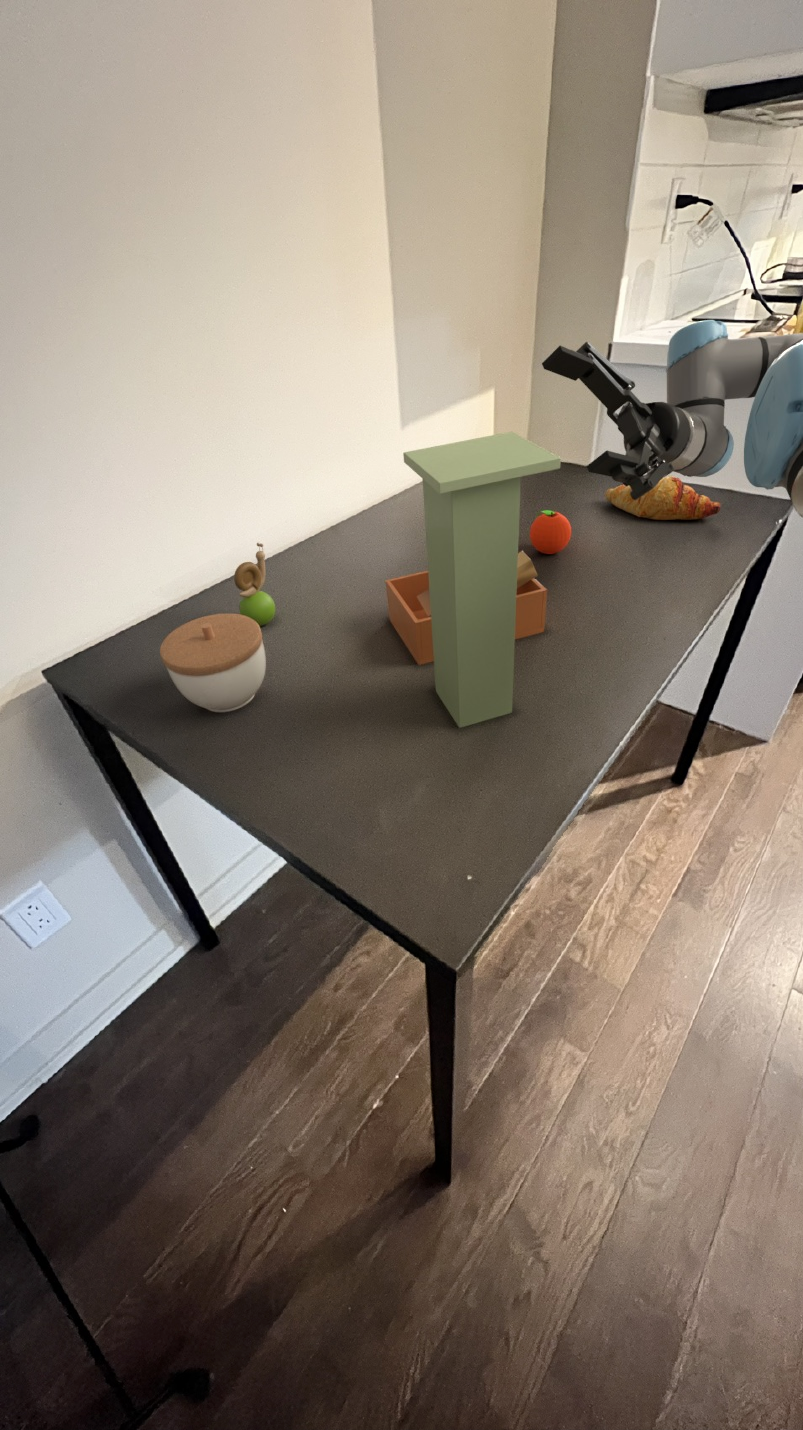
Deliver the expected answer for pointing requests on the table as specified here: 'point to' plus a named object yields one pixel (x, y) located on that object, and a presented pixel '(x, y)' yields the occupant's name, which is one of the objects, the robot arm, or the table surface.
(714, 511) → the croissant
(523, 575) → the mallet
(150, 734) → the table surface
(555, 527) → the clementine
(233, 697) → the lidded bowl
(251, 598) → the snail figurine
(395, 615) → the open box
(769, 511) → the table surface
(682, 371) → the robot arm
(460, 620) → the shelf stand
